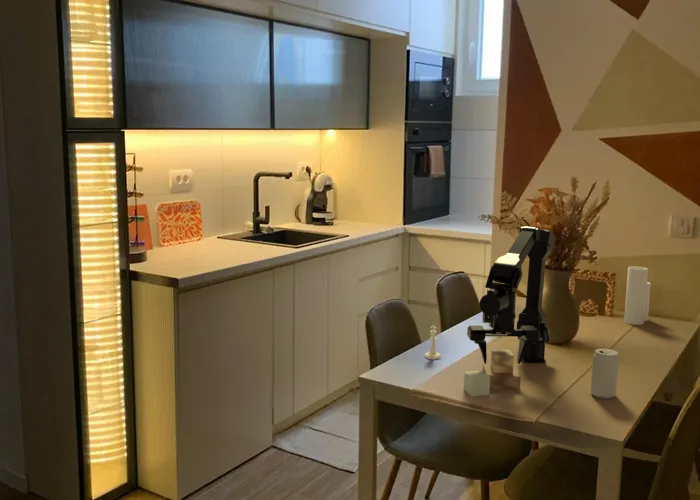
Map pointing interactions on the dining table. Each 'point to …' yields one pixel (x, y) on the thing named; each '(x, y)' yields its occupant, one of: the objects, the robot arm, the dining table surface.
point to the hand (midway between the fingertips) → (501, 363)
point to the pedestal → (503, 378)
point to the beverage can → (604, 373)
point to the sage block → (477, 383)
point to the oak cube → (502, 361)
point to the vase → (637, 296)
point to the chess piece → (432, 346)
